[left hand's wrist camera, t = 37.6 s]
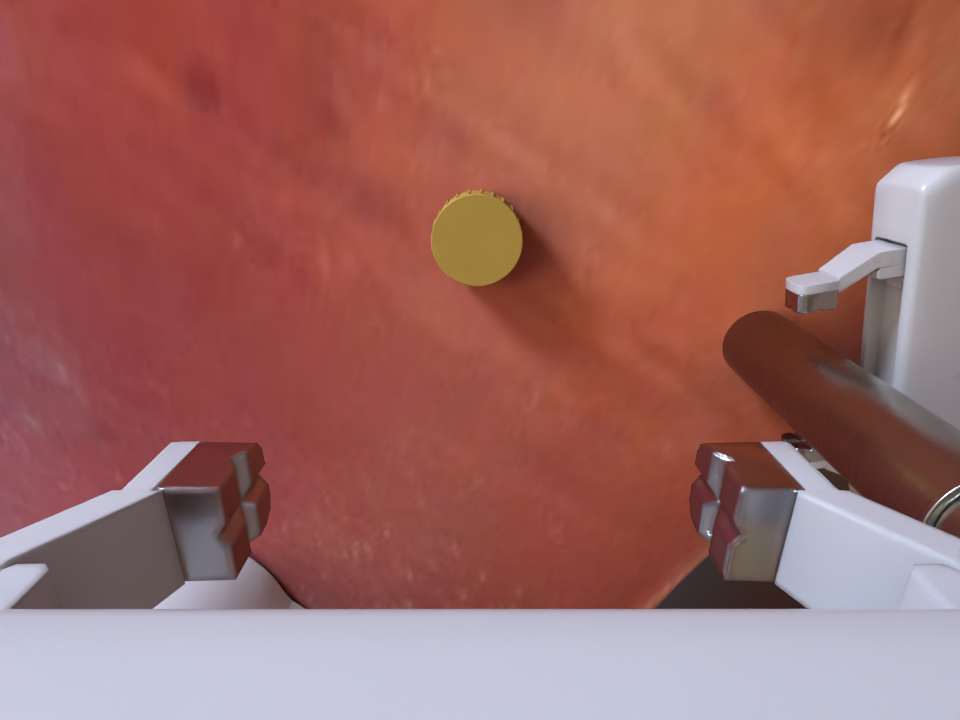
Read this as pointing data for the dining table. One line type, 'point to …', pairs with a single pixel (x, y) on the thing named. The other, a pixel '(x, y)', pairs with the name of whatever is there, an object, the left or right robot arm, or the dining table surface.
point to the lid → (477, 238)
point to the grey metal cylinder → (852, 419)
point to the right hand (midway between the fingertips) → (787, 379)
